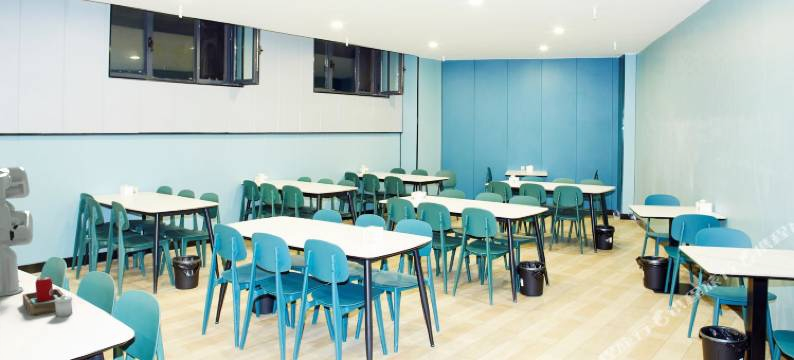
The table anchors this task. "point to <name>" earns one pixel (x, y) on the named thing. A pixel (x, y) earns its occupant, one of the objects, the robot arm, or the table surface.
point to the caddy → (42, 307)
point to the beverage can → (44, 289)
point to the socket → (34, 301)
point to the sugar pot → (63, 306)
